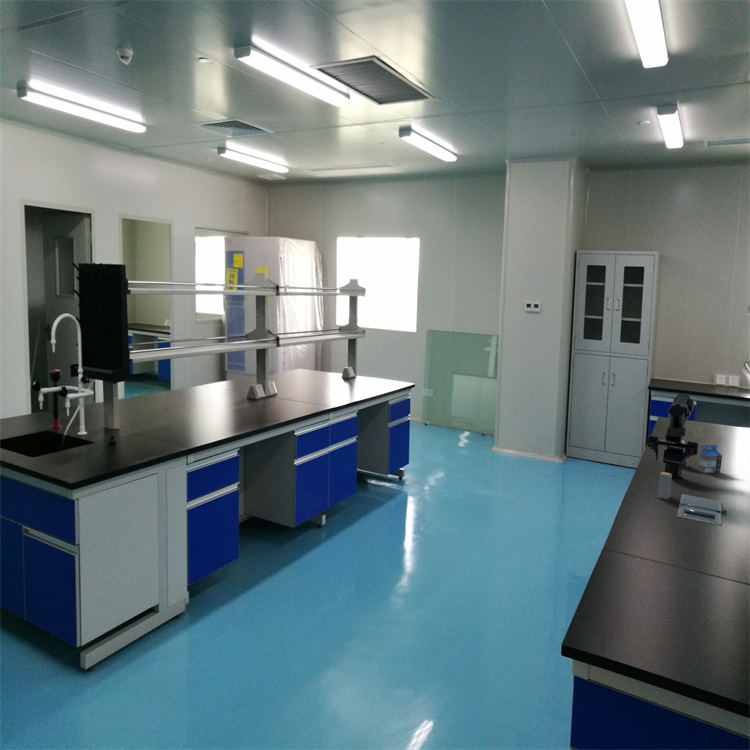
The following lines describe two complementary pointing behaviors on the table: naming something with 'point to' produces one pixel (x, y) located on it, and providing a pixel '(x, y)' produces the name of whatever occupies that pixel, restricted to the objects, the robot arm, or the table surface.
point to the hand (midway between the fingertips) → (669, 462)
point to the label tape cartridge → (710, 459)
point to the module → (664, 485)
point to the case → (700, 509)
